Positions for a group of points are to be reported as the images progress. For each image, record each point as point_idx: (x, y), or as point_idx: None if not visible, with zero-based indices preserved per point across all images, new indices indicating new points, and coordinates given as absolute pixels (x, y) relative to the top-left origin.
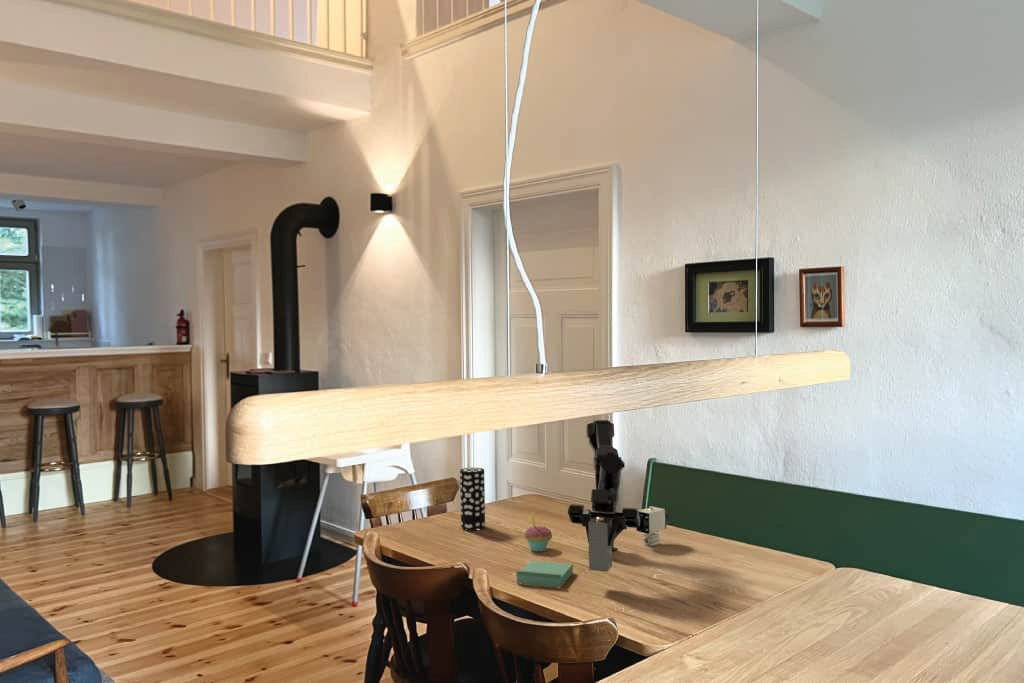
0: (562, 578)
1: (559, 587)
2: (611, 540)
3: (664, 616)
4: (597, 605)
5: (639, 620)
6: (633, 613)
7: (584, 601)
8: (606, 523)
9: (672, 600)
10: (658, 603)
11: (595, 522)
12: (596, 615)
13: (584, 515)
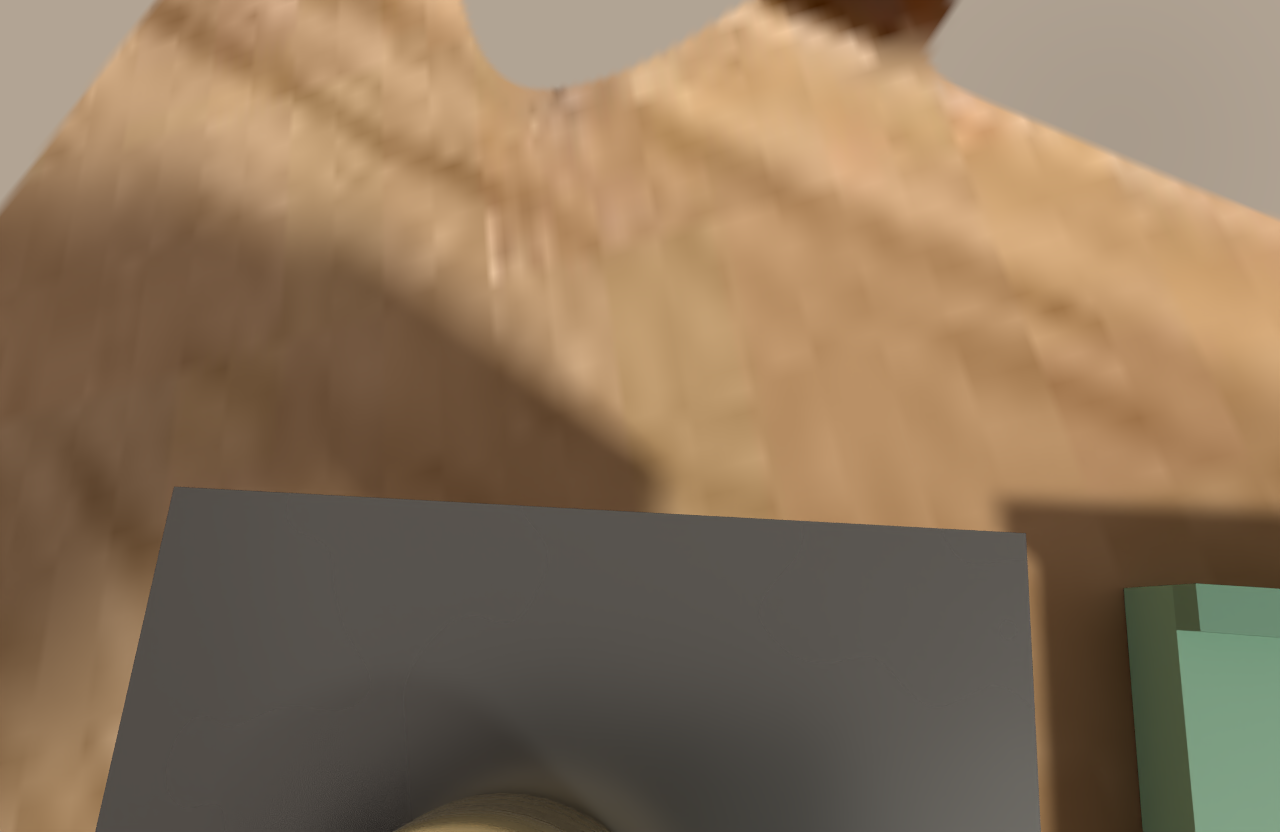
0: (1167, 692)
1: (1134, 587)
2: None
3: (237, 211)
4: (683, 269)
5: (384, 107)
6: (422, 201)
7: (800, 321)
8: (205, 506)
9: (160, 512)
10: (258, 426)
11: (672, 577)
12: (658, 96)
13: None
